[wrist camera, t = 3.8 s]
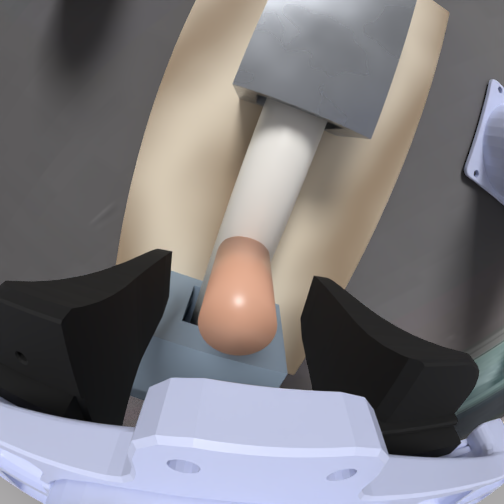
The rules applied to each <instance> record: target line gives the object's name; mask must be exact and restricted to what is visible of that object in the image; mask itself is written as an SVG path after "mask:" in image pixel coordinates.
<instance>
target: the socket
mask: <svg viewBox="0 0 504 504" xmlns="http://www.w3.org/2000/svg"><path fill="white" fill-rule="evenodd" d="M202 282H203V281H201V280H198V279H195V278H192V277H189V276H186V275H183V274H180V273H177V272H174V271H171V277H170V293H169V299H168V302H167V305H166V308H165V311H164V314H163V317H162V319H161V321H160V323H159V325H158V327H157V329H156V331H155V333H154V335H153V337H152V339H151V341H150V343H149V345H148V347H147V349H146V351H145V353H144V355H143V357H142V360H141V362H140V365H139V368H138V371H137V374H136V377H135V380H134V383H133V386H132V390H131V393H130V395H131V396H133V397H136V398H139V399H142V400H145V397H146V395H147V392H148V389H149V387H151V386H153V385H156V384H158V383H160V382H163V381H165V380H167V379H169V378H175V377H177V378H208V379H214V380H220V381H227V382H233V383H241V384H248V385H256V386H265V387H275V388H279V387H280V385H281V383H282V382H283V380H284V379H285V377H286V376H287V374H288V372H287V364H286V356H285V348H284V339H283V331H282V324H281V316H280V308H279V305H278V304H275V308H276V317H277V331H276V334H275V337H274V338H273V340H272V341H271V343H270V344H269V345H268V346H266V347H265V348H264V349H262V350H260V351H258V352H256V353H253V354H249V355H241V356H237V355H229V354H225V353H222V352H220V351H217V350H216V349H214V348H212V347H211V346H210V345H209V344H208V343H206V341H205V340H204V339H203V337H202V336H201V334H200V331H199V328H198V326H197V325H194V324H191V323H190V321H191V317H192V314H193V311H194V308H195V304H196V301H197V298H198V295H199V291H200V288H201V285H202Z"/></svg>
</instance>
